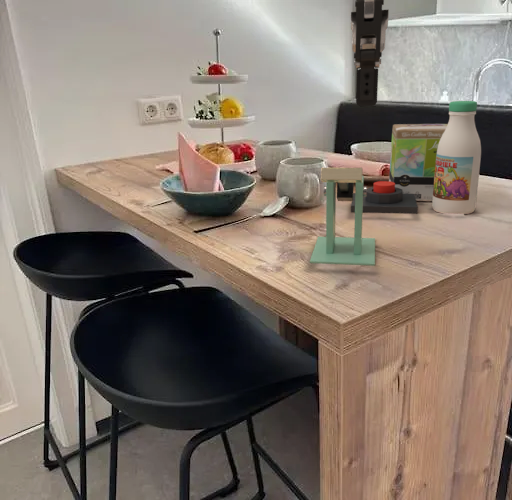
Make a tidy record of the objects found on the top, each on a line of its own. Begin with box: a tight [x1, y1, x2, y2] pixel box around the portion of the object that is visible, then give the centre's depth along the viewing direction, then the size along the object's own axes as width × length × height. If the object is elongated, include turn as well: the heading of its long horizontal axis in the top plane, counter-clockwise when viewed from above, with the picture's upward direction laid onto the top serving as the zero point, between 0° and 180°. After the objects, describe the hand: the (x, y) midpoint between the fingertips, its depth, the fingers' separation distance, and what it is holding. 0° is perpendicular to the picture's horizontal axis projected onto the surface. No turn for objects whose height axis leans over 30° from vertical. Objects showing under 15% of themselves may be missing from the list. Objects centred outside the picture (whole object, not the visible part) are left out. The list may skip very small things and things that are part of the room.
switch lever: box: [320, 167, 364, 202], centre depth 67 cm, size 12×5×2 cm, turn 167°
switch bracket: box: [309, 175, 376, 267], centre depth 73 cm, size 11×9×12 cm
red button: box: [372, 180, 395, 193], centre depth 96 cm, size 4×4×2 cm
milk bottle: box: [431, 100, 482, 215], centre depth 92 cm, size 8×8×20 cm
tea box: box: [388, 123, 448, 202], centre depth 103 cm, size 15×10×15 cm
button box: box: [350, 186, 419, 215], centre depth 97 cm, size 12×10×4 cm
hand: (366, 102), depth 58 cm, fingers open, 8 cm apart
